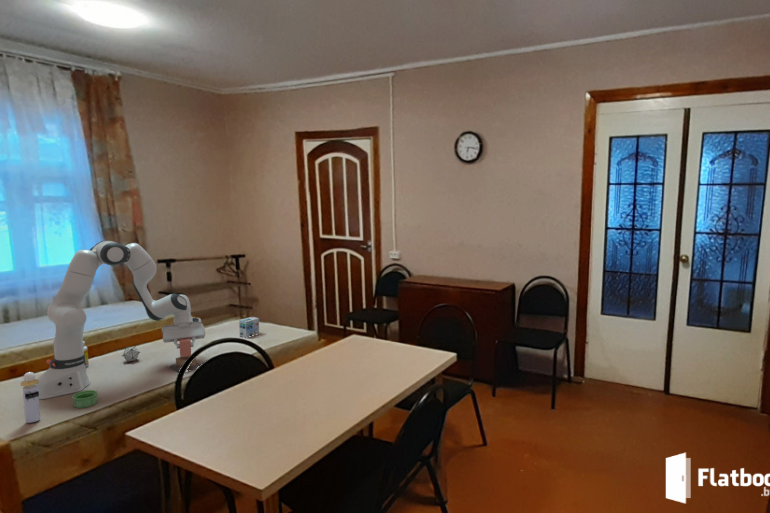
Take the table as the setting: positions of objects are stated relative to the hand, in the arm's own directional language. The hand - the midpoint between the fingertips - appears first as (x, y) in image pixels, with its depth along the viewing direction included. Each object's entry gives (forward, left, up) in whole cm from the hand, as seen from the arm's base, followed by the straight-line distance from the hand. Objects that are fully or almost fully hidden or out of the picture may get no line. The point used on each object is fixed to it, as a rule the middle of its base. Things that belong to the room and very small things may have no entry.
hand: (185, 347), depth 241 cm
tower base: (0, +1, -11) cm, 11 cm away
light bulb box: (+54, +23, -11) cm, 60 cm away
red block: (0, +1, -4) cm, 4 cm away
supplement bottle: (-34, +42, -11) cm, 55 cm away
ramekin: (-49, -7, -11) cm, 51 cm away
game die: (-14, +31, -11) cm, 35 cm away
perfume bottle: (-68, -9, -11) cm, 69 cm away
